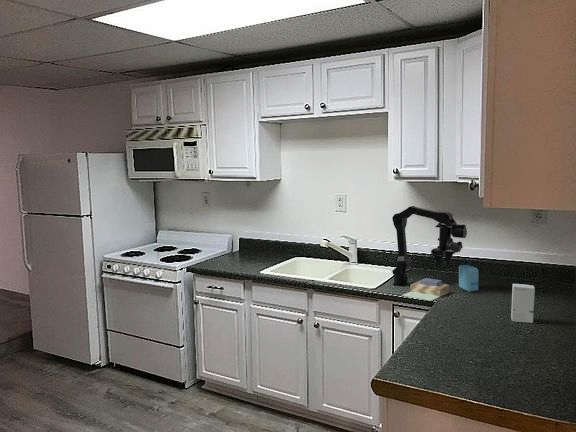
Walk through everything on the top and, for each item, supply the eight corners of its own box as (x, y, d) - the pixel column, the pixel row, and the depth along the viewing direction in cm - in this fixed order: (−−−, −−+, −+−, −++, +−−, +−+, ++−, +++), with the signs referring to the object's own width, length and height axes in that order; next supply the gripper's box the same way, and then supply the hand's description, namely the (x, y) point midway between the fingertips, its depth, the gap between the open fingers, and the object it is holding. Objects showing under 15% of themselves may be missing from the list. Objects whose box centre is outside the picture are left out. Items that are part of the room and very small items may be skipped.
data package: (478, 291, 251) (478, 268, 250) (470, 292, 250) (470, 269, 249) (466, 286, 263) (466, 264, 262) (458, 286, 262) (458, 264, 261)
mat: (401, 295, 247) (401, 295, 247) (410, 292, 254) (410, 291, 254) (431, 300, 237) (431, 300, 237) (439, 296, 243) (439, 296, 243)
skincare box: (511, 321, 203) (512, 286, 201) (510, 317, 208) (511, 283, 207) (534, 323, 200) (535, 287, 198) (532, 319, 205) (533, 284, 204)
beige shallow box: (410, 292, 254) (410, 284, 254) (420, 287, 262) (420, 280, 262) (439, 296, 243) (439, 289, 243) (449, 292, 251) (449, 284, 251)
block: (420, 284, 254) (420, 280, 254) (425, 281, 259) (425, 278, 258) (436, 286, 248) (436, 282, 248) (441, 284, 253) (441, 280, 252)
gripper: (452, 240, 240) (451, 271, 242) (468, 235, 253) (467, 265, 255) (430, 238, 248) (430, 268, 249) (447, 233, 261) (446, 262, 263)
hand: (444, 266), depth 254 cm, fingers open, 9 cm apart
